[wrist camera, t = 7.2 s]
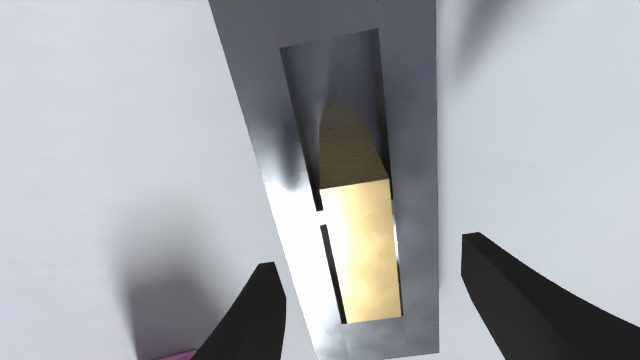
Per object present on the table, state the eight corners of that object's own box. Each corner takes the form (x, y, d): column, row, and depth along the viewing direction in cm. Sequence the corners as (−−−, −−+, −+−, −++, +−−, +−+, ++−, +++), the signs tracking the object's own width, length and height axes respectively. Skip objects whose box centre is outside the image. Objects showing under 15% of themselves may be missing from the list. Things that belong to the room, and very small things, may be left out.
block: (408, -97, 12) (434, -128, 10) (425, 314, 23) (439, 352, 21) (213, -53, 13) (187, -70, 10) (319, 328, 24) (319, 367, 21)
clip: (365, 124, 16) (389, 178, 11) (377, 233, 19) (401, 316, 14) (318, 132, 16) (319, 189, 11) (339, 238, 19) (347, 323, 14)
